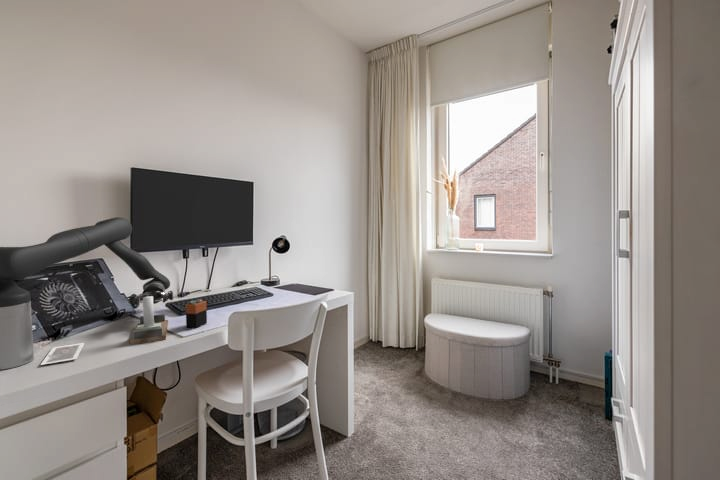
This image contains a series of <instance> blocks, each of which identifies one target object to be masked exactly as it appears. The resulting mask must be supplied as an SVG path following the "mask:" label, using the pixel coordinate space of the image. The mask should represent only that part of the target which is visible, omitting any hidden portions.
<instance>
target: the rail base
mask: <svg viewBox="0 0 720 480" xmlns="http://www.w3.org/2000/svg"><path fill="white" fill-rule="evenodd" d="M155 323H161V327H159V328H152V329H144V330H136V328H137V326H139V325H144V315H142V316H140V317H139V322H137V324H136V327H135V329H134V331H133V333H132V335H131V338H130V345H137V344H145V343H150V342H151V343H152V342H159V341H166V340H167V339H166V338H167V331H168V327H167V326H168V325H169V320H168V319H166V314H165V313H162V314H154V324H155Z"/></svg>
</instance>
